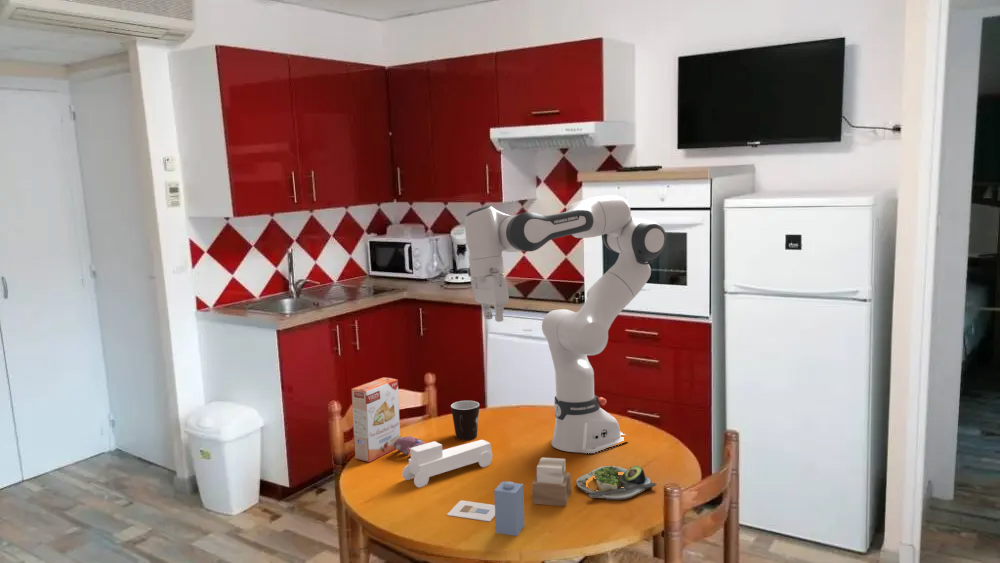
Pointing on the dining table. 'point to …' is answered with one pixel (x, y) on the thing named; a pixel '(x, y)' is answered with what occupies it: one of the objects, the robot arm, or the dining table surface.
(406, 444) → the video game controller
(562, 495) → the tower base
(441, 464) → the toy truck
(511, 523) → the blue brick
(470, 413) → the coffee mug
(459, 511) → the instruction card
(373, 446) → the cracker box
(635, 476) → the salad plate
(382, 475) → the dining table surface
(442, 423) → the dining table surface
